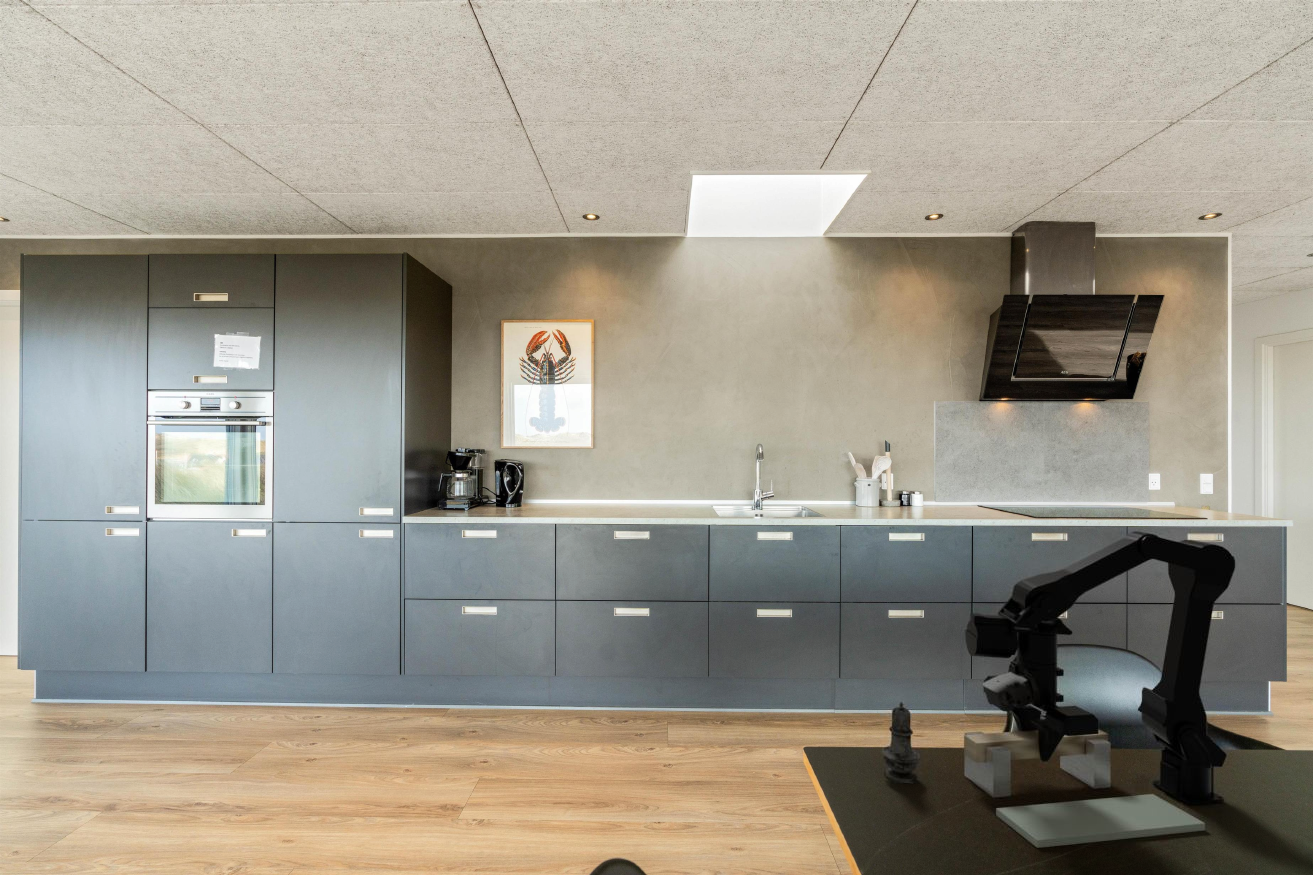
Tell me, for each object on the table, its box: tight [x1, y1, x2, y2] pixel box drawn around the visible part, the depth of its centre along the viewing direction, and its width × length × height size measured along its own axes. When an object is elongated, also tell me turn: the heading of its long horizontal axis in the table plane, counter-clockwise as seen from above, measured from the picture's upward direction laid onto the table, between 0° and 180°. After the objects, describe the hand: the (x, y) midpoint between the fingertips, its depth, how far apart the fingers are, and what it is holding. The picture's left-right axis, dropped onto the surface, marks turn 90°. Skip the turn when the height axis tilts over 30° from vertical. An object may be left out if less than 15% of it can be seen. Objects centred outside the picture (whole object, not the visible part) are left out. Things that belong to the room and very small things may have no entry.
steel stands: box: [964, 731, 1112, 798], centre depth 106 cm, size 21×7×7 cm, turn 100°
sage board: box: [995, 793, 1206, 849], centre depth 94 cm, size 27×8×1 cm, turn 100°
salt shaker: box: [881, 701, 921, 784], centre depth 107 cm, size 6×6×12 cm
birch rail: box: [963, 729, 1109, 763], centre depth 106 cm, size 24×3×3 cm, turn 100°
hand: (1036, 756), depth 106 cm, fingers closed on birch rail, 3 cm apart
